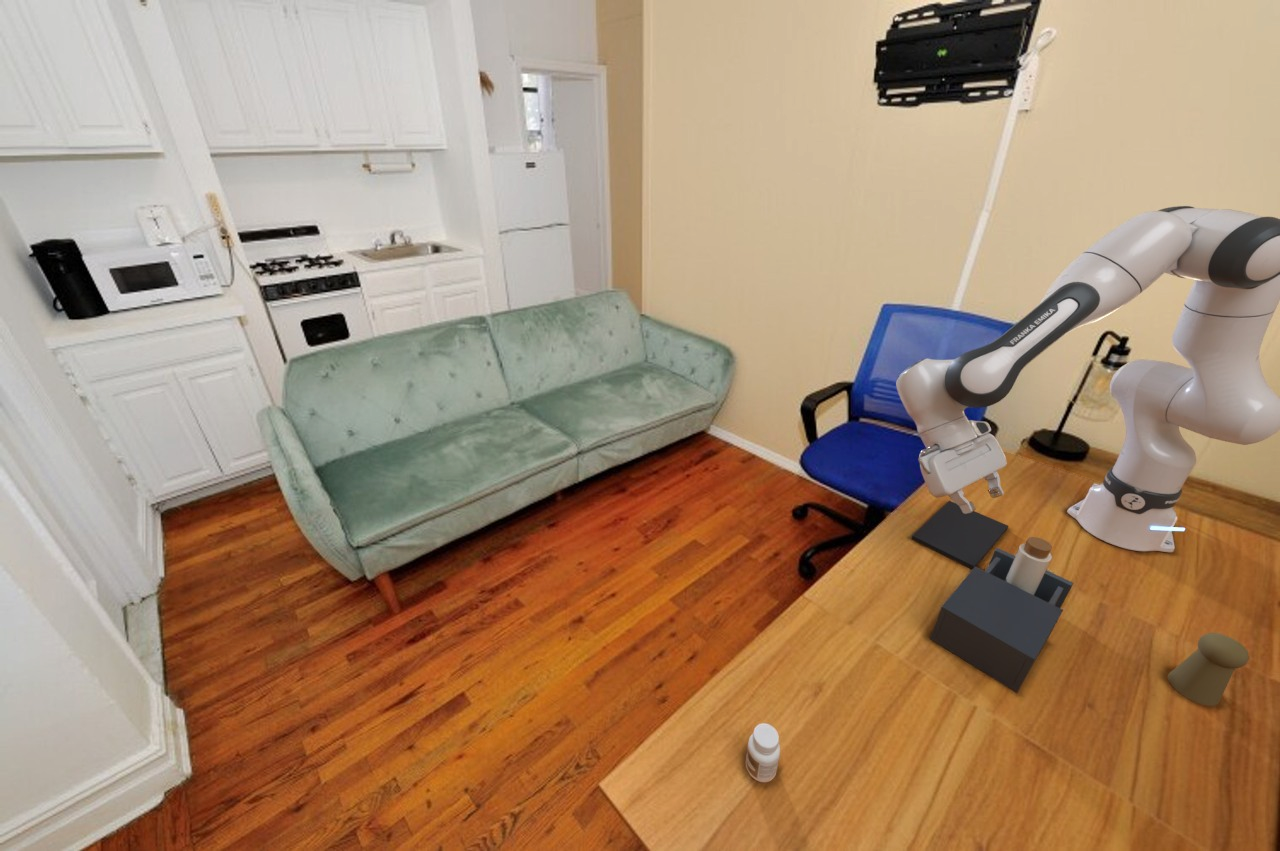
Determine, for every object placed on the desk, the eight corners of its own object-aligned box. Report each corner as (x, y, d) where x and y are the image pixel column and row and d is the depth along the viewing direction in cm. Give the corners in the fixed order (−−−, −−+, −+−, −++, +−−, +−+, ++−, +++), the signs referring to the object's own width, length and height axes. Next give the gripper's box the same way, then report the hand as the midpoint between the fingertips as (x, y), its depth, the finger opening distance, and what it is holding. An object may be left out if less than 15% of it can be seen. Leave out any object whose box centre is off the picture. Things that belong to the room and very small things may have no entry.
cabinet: (962, 597, 99) (975, 566, 96) (1045, 642, 90) (1063, 609, 86) (929, 638, 91) (941, 606, 87) (1017, 693, 82) (1034, 659, 78)
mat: (948, 503, 126) (949, 500, 125) (1007, 529, 117) (1008, 525, 117) (910, 538, 115) (912, 535, 114) (973, 570, 106) (974, 566, 105)
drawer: (994, 561, 107) (1004, 538, 104) (1067, 596, 98) (1080, 571, 95) (960, 604, 97) (969, 580, 94) (1037, 647, 88) (1050, 622, 85)
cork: (1230, 709, 79) (1270, 663, 74) (1184, 702, 80) (1221, 656, 75) (1200, 674, 84) (1236, 629, 79) (1158, 668, 85) (1190, 623, 80)
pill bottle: (741, 752, 75) (746, 721, 71) (770, 749, 75) (776, 718, 71) (750, 785, 71) (755, 753, 67) (780, 781, 71) (787, 750, 67)
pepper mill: (1003, 586, 99) (1028, 531, 92) (1032, 600, 96) (1059, 544, 89) (994, 598, 96) (1019, 542, 90) (1023, 614, 93) (1051, 556, 86)
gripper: (929, 447, 92) (967, 519, 89) (993, 420, 101) (1029, 484, 98) (902, 457, 98) (937, 525, 95) (964, 430, 106) (998, 491, 103)
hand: (984, 504), depth 96 cm, fingers open, 8 cm apart
